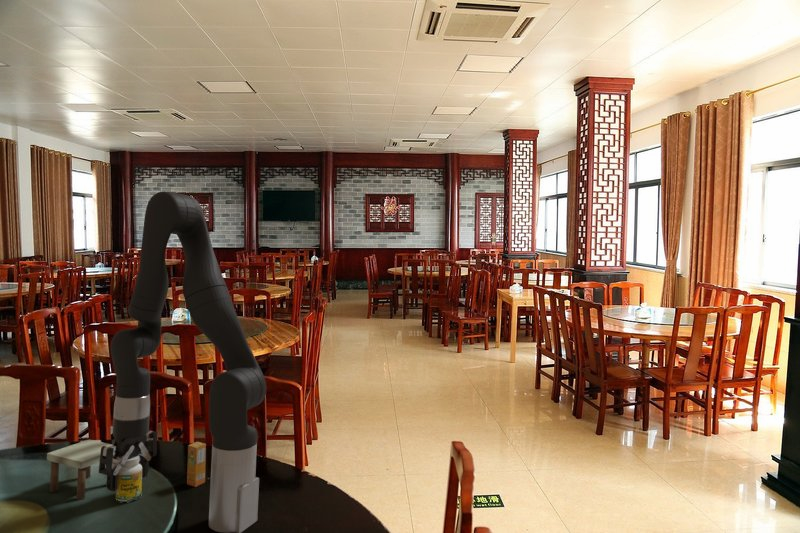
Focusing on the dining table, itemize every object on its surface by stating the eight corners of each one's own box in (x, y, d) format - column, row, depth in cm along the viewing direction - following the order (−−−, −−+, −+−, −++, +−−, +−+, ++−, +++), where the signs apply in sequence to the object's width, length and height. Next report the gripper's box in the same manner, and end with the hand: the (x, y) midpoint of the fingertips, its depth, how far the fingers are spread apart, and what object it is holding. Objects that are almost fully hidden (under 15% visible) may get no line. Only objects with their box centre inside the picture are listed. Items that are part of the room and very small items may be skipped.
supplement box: (185, 484, 134) (187, 444, 134) (196, 479, 137) (198, 440, 137) (194, 487, 133) (196, 447, 132) (205, 483, 136) (207, 443, 135)
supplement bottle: (139, 491, 129) (141, 451, 129) (142, 500, 125) (144, 459, 125) (114, 495, 126) (115, 455, 126) (116, 505, 122) (118, 462, 122)
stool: (120, 483, 133) (121, 446, 133) (79, 501, 123) (81, 461, 122) (87, 474, 137) (88, 439, 137) (45, 491, 126) (47, 453, 126)
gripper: (118, 425, 117) (114, 499, 118) (167, 408, 131) (163, 475, 131) (92, 419, 120) (88, 491, 120) (143, 404, 133) (140, 469, 134)
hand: (128, 483), depth 126 cm, fingers open, 8 cm apart
